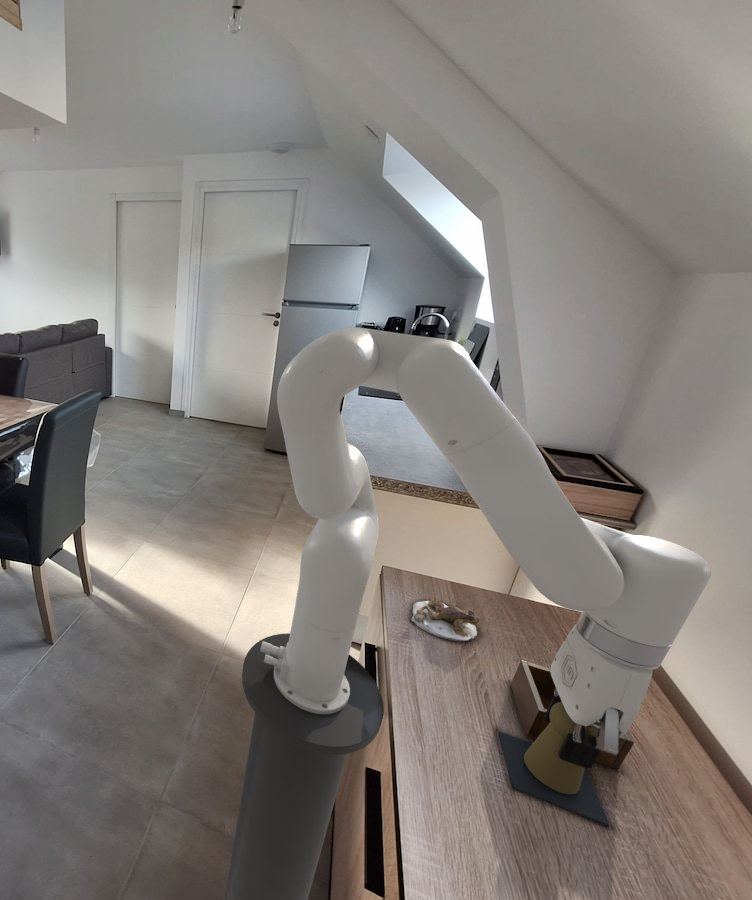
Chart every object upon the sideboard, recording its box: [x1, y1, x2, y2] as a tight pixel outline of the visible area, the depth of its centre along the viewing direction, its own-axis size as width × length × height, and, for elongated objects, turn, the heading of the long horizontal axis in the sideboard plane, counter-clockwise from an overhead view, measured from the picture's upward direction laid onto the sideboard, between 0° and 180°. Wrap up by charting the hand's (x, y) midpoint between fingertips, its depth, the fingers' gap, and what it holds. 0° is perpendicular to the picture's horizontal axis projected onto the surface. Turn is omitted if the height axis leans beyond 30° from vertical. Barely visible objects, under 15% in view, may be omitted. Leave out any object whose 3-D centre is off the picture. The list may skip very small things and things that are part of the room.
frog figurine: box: [410, 597, 481, 642], centre depth 91 cm, size 12×12×4 cm
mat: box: [498, 731, 610, 827], centre depth 63 cm, size 10×9×1 cm
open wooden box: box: [510, 659, 635, 770], centre depth 69 cm, size 11×11×6 cm
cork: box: [524, 702, 600, 794], centre depth 60 cm, size 6×6×11 cm
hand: (565, 741), depth 60 cm, fingers closed on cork, 5 cm apart
